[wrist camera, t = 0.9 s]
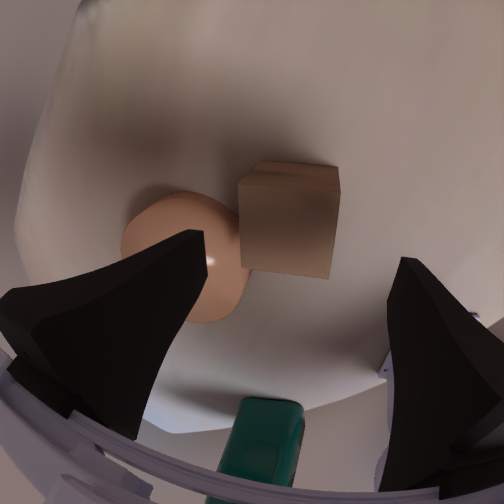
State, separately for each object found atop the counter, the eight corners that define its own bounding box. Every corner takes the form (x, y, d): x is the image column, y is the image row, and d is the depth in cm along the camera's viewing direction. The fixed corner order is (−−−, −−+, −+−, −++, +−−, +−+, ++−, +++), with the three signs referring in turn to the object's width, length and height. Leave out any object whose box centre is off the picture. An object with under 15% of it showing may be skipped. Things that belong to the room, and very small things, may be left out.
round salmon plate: (255, 304, 25) (244, 333, 22) (156, 286, 27) (138, 309, 24) (253, 194, 20) (239, 215, 17) (135, 189, 22) (108, 206, 19)
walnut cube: (330, 236, 20) (328, 279, 15) (260, 228, 21) (241, 267, 17) (337, 166, 17) (340, 193, 13) (260, 160, 18) (237, 183, 14)
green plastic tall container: (304, 400, 31) (260, 566, 13) (306, 427, 35) (271, 561, 17) (229, 392, 34) (169, 540, 16) (242, 419, 38) (197, 543, 20)
